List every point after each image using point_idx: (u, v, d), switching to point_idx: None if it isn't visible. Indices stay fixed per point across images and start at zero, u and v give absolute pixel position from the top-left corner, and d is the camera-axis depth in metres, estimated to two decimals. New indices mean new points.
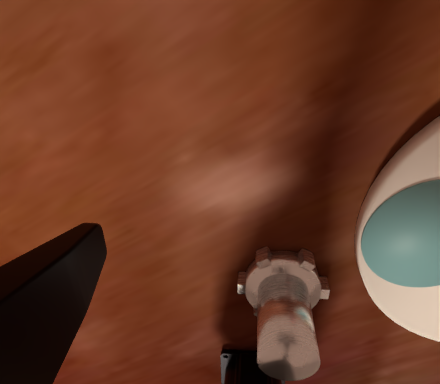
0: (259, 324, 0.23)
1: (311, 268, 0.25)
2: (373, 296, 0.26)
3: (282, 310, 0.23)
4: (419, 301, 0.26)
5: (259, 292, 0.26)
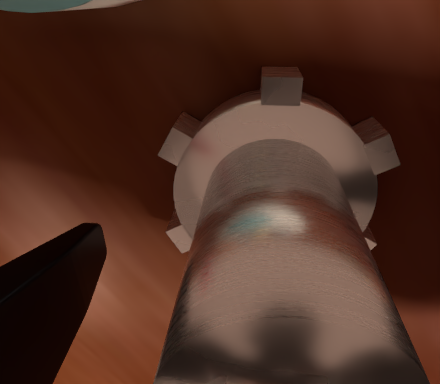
0: None
1: (181, 136, 0.09)
2: None
3: None
4: None
5: None
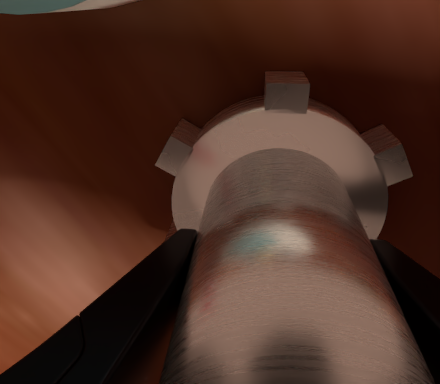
0: None
1: (179, 145, 0.09)
2: None
3: None
4: None
5: None
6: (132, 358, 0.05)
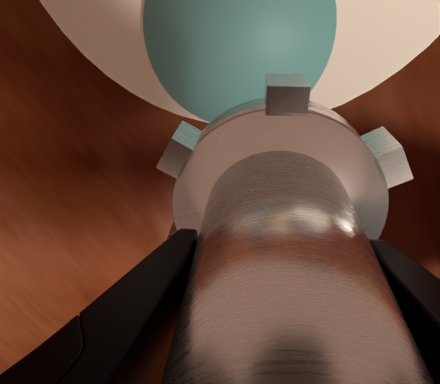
0: None
1: (180, 147, 0.09)
2: (353, 94, 0.17)
3: None
4: (375, 16, 0.15)
5: None
6: (132, 358, 0.05)
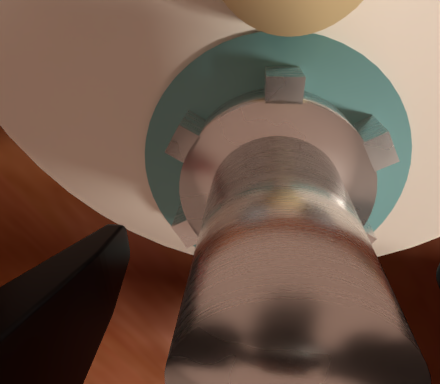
0: None
1: (187, 133, 0.10)
2: (424, 238, 0.13)
3: None
4: None
5: None
6: (12, 347, 0.05)
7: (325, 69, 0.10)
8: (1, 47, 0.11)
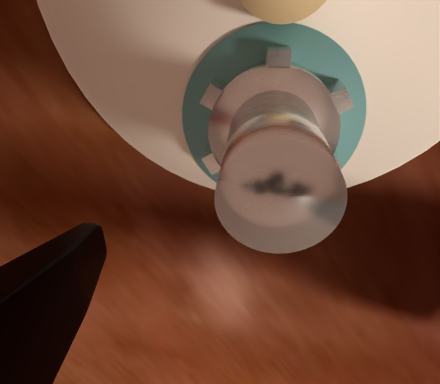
0: None
1: (215, 89, 0.15)
2: (380, 172, 0.18)
3: None
4: (402, 106, 0.16)
5: None
6: None
7: (306, 47, 0.15)
8: (88, 33, 0.16)
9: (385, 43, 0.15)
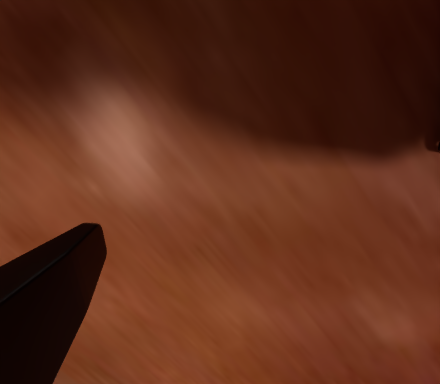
0: None
1: None
2: None
3: None
4: None
5: None
6: None
7: None
8: None
9: None
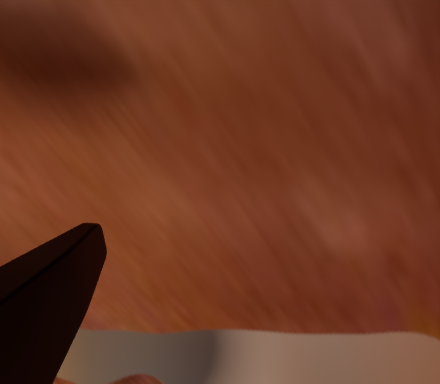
0: None
1: None
2: None
3: None
4: None
5: None
6: None
7: None
8: None
9: None
